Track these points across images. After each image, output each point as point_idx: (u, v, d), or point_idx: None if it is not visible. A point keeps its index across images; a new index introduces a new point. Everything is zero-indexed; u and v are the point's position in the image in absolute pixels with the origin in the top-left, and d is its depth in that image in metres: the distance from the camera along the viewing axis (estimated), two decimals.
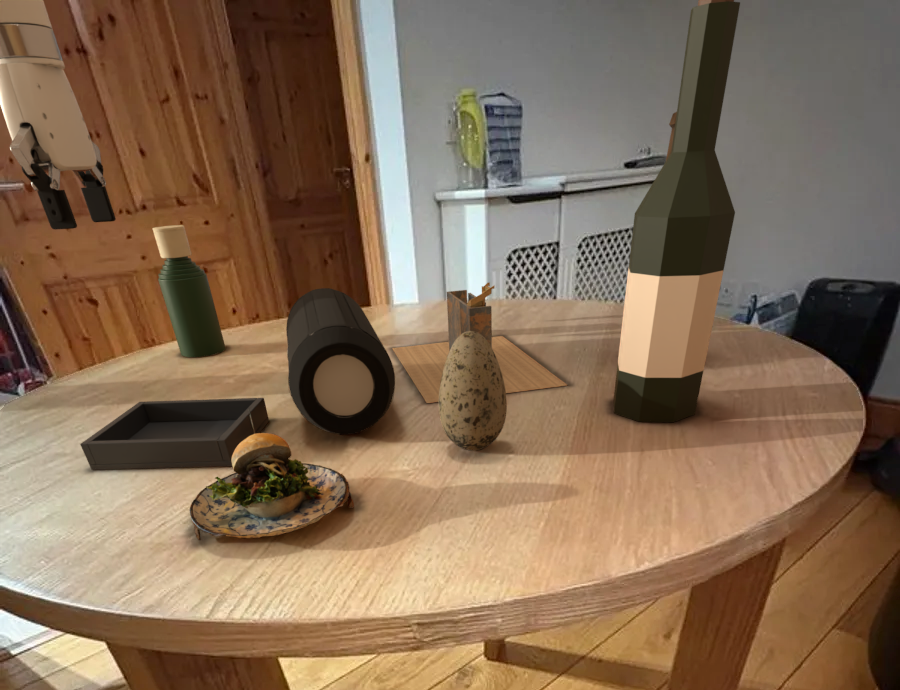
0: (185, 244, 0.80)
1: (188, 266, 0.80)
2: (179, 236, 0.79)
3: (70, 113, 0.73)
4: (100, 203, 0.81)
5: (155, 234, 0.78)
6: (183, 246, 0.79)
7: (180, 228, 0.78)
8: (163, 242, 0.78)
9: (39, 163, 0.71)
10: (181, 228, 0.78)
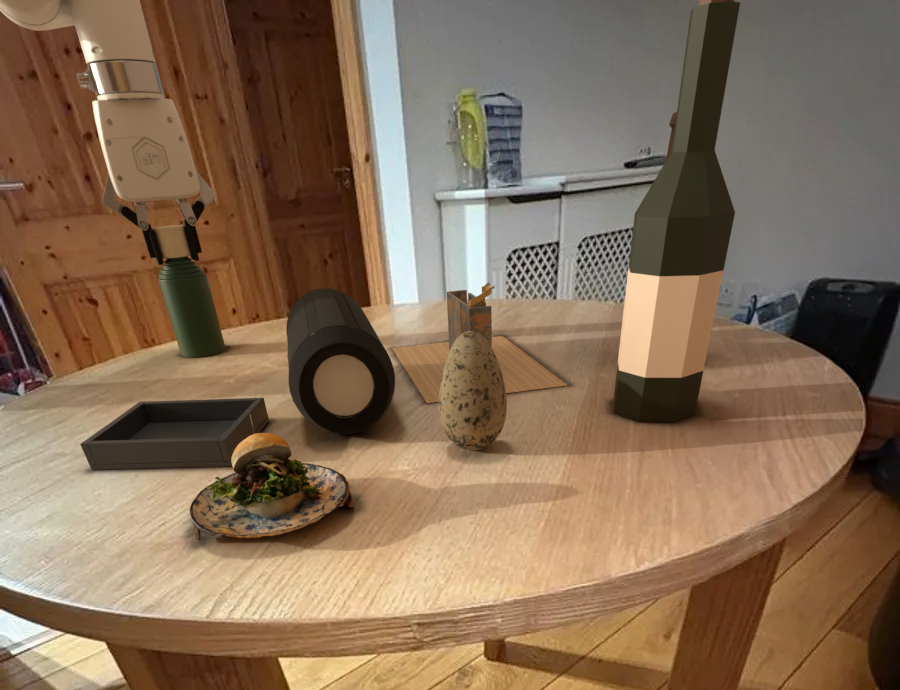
0: (185, 244, 0.80)
1: (188, 266, 0.80)
2: (179, 236, 0.79)
3: None
4: None
5: None
6: (183, 246, 0.79)
7: (180, 228, 0.78)
8: (163, 242, 0.78)
9: None
10: (181, 228, 0.78)
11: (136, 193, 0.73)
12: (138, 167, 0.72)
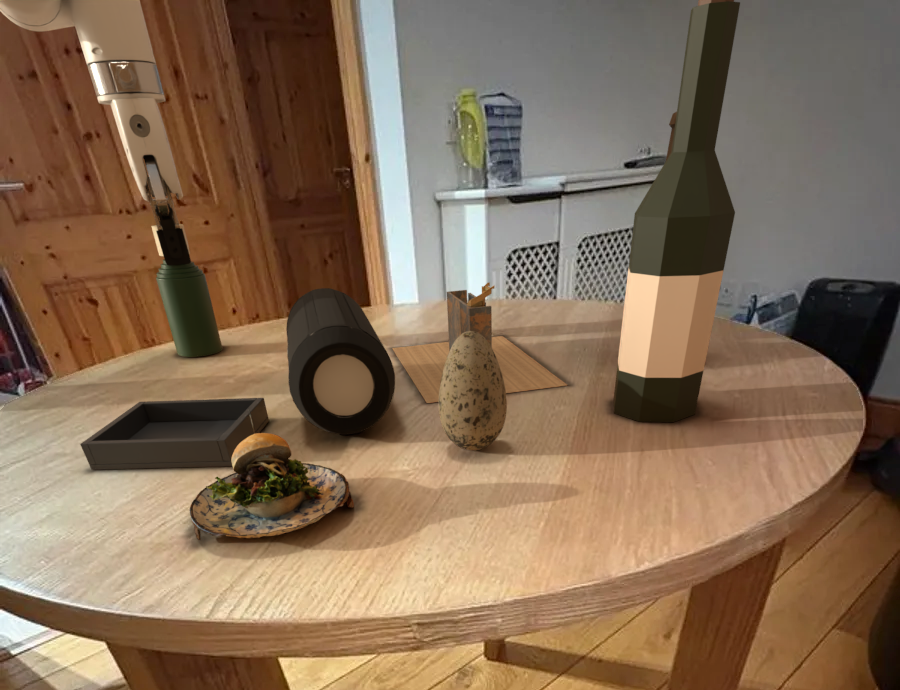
0: None
1: (187, 266, 0.80)
2: None
3: (123, 146, 0.72)
4: None
5: None
6: None
7: None
8: None
9: None
10: None
11: None
12: None
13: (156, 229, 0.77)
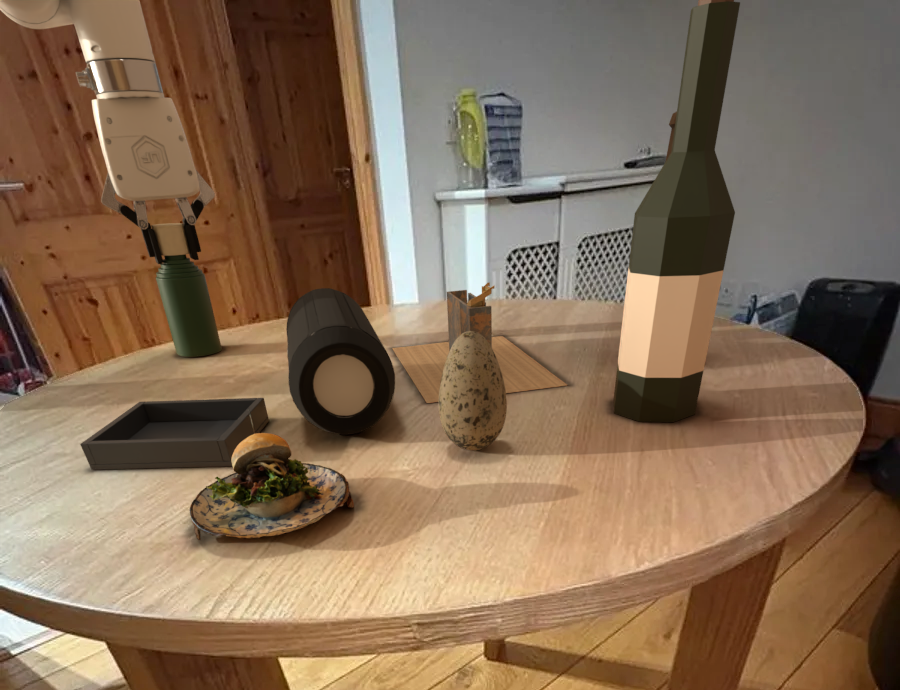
0: None
1: (186, 266, 0.80)
2: None
3: None
4: None
5: None
6: None
7: None
8: None
9: None
10: None
11: (136, 192, 0.73)
12: (138, 166, 0.72)
13: (178, 227, 0.78)
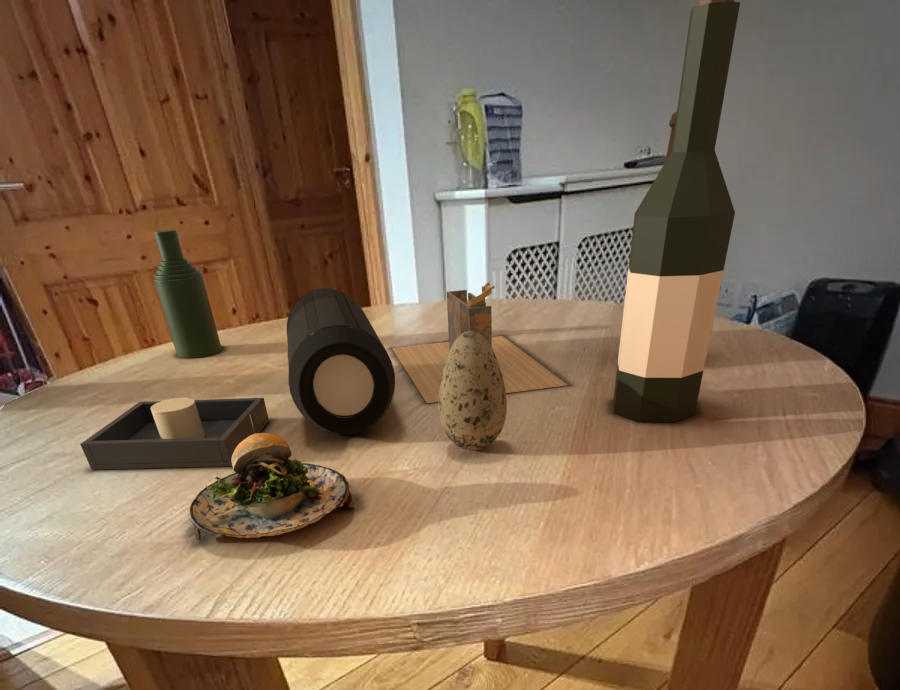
0: (192, 428, 0.57)
1: (184, 266, 0.80)
2: (182, 421, 0.56)
3: None
4: None
5: (153, 415, 0.56)
6: (188, 432, 0.56)
7: (184, 410, 0.55)
8: (161, 427, 0.56)
9: None
10: (186, 409, 0.56)
11: None
12: None
13: None
